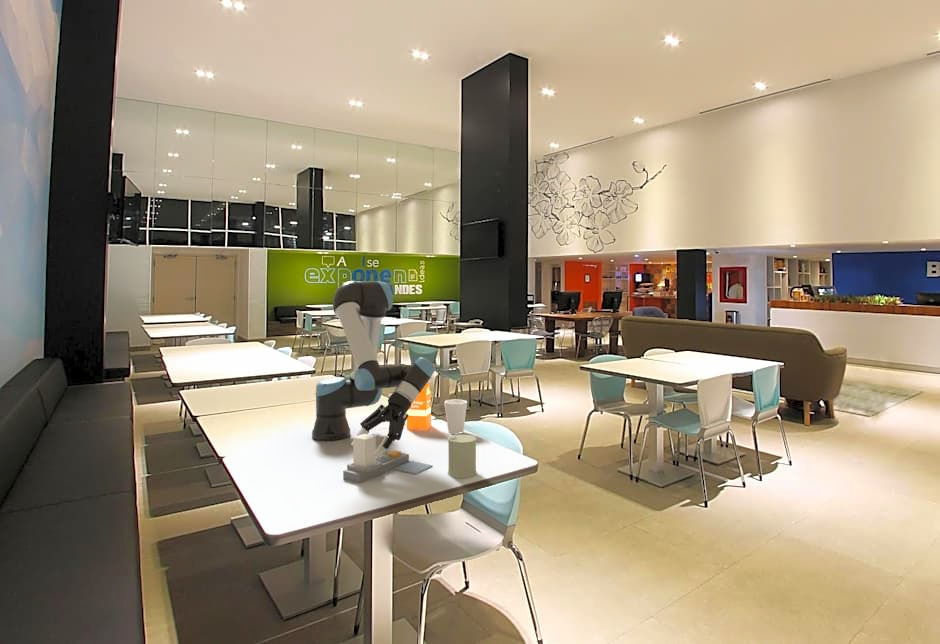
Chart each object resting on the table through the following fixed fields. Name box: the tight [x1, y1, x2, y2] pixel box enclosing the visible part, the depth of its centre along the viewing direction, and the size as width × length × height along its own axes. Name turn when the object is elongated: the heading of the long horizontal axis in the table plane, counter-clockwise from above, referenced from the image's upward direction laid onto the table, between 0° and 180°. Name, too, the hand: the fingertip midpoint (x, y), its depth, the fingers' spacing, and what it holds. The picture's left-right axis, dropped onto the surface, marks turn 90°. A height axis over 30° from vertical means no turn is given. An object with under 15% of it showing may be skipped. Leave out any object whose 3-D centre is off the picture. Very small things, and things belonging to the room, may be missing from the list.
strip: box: [342, 450, 410, 484], centre depth 168 cm, size 8×24×4 cm, turn 148°
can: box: [447, 434, 477, 479], centre depth 164 cm, size 9×9×12 cm
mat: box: [393, 460, 433, 475], centre depth 169 cm, size 9×9×1 cm
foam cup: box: [444, 398, 468, 434], centre depth 213 cm, size 10×9×13 cm
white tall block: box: [352, 433, 377, 468], centre depth 162 cm, size 5×5×10 cm
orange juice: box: [406, 381, 432, 431], centre depth 221 cm, size 8×9×20 cm
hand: (364, 451), depth 161 cm, fingers open, 13 cm apart
